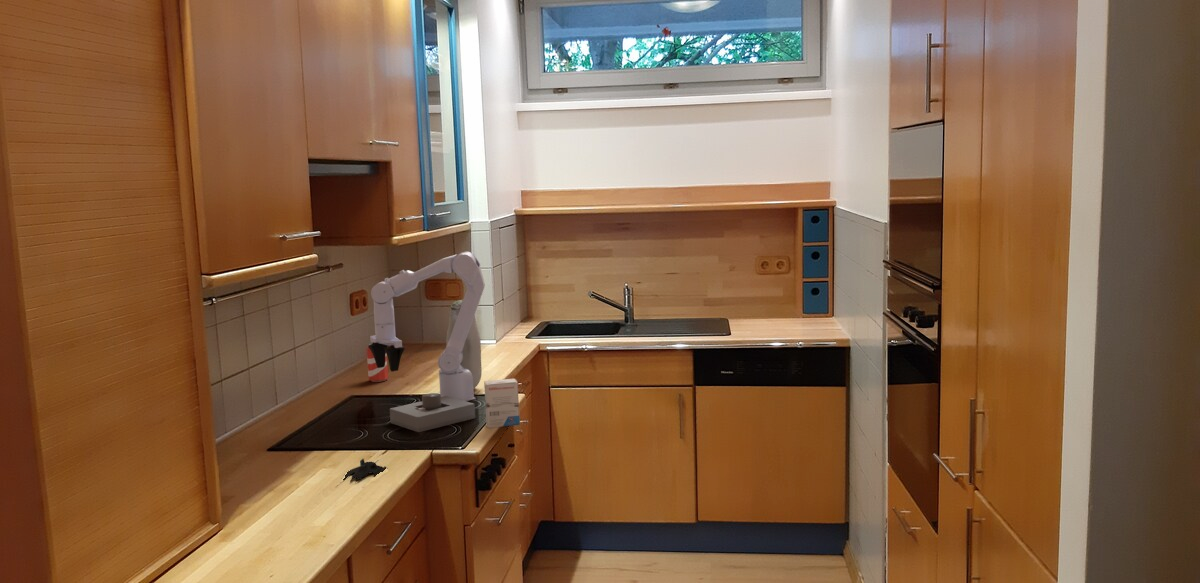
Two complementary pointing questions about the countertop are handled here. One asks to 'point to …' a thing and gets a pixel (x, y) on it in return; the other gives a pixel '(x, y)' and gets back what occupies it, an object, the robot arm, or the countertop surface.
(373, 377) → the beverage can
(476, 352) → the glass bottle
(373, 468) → the angular spaceship
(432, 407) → the dark grey rounded piece
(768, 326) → the countertop surface
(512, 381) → the ink box
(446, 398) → the foam packaging insert
